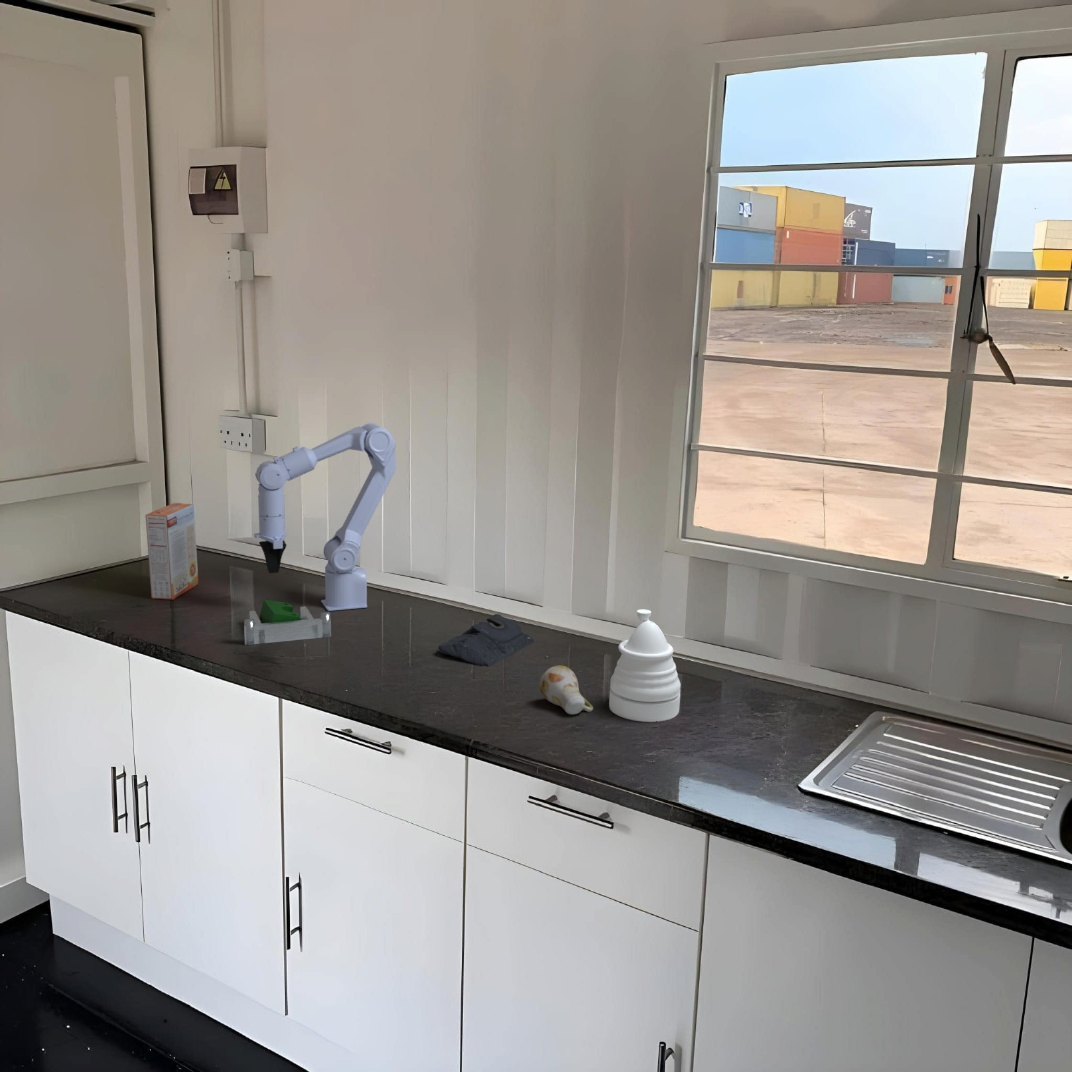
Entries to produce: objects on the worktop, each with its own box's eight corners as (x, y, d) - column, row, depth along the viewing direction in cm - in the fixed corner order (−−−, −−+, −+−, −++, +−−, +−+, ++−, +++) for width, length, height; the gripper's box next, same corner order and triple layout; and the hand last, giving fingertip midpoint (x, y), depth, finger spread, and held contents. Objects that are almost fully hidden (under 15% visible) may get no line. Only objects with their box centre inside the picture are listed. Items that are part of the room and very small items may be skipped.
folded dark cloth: (425, 656, 215) (425, 634, 214) (480, 628, 234) (480, 608, 233) (488, 670, 208) (489, 648, 207) (539, 641, 227) (540, 620, 226)
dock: (318, 617, 237) (317, 596, 236) (331, 637, 224) (331, 614, 223) (237, 625, 230) (236, 602, 229) (245, 645, 217) (244, 621, 216)
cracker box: (176, 583, 261) (172, 502, 256) (199, 585, 260) (195, 503, 255) (148, 599, 247) (144, 513, 243) (172, 600, 246) (168, 514, 242)
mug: (563, 723, 184) (543, 670, 185) (549, 726, 193) (530, 675, 194) (600, 708, 186) (580, 655, 187) (584, 712, 195) (565, 662, 196)
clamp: (290, 654, 226) (302, 622, 222) (262, 651, 223) (275, 618, 219) (283, 619, 235) (295, 588, 231) (257, 615, 232) (269, 584, 228)
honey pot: (597, 699, 194) (601, 607, 190) (656, 691, 199) (662, 601, 195) (629, 726, 183) (635, 628, 178) (692, 716, 188) (699, 621, 184)
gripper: (248, 509, 241) (250, 565, 244) (259, 522, 228) (261, 581, 231) (279, 507, 243) (281, 563, 246) (291, 520, 230) (292, 579, 234)
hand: (273, 572), depth 239 cm, fingers closed
